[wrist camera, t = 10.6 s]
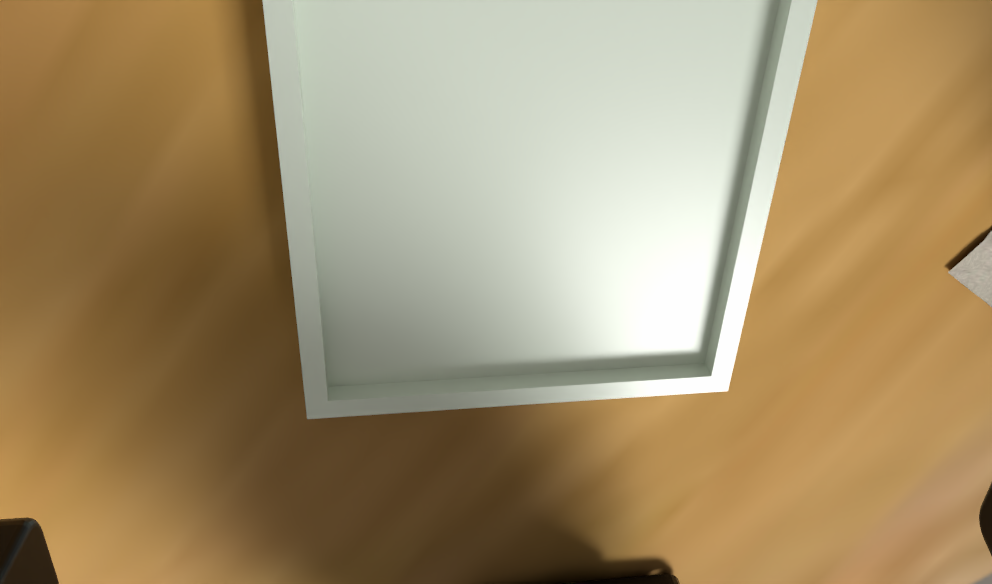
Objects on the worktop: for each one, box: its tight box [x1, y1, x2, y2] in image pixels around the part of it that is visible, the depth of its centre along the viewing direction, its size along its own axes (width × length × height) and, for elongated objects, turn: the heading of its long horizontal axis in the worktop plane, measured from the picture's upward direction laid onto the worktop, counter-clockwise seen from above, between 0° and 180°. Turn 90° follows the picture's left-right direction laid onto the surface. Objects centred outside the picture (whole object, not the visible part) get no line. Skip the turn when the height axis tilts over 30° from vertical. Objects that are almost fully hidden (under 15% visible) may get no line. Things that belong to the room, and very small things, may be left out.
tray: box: [262, 0, 817, 419], centre depth 19 cm, size 12×10×1 cm
